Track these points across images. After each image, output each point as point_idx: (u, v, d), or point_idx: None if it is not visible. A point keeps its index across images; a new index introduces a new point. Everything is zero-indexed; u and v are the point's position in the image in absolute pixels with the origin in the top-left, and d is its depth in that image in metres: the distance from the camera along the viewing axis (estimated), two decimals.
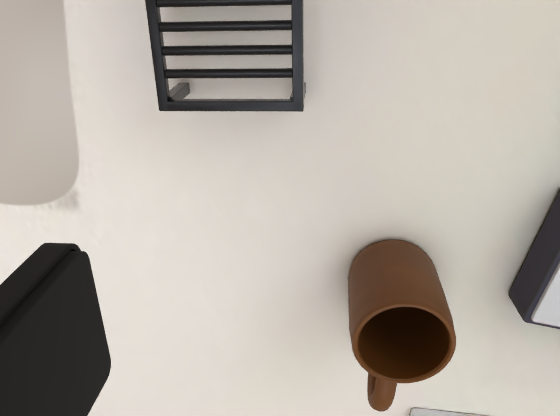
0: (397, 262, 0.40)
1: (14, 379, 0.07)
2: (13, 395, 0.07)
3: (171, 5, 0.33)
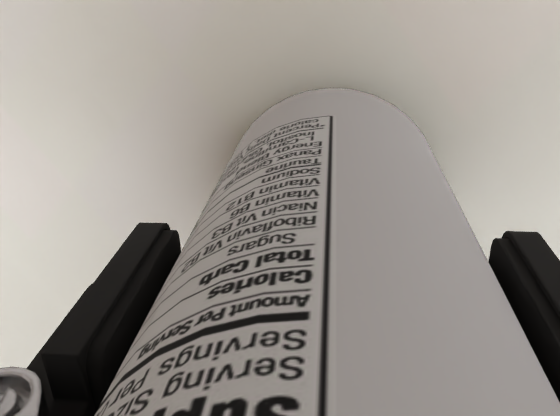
0: None
1: None
2: None
3: None
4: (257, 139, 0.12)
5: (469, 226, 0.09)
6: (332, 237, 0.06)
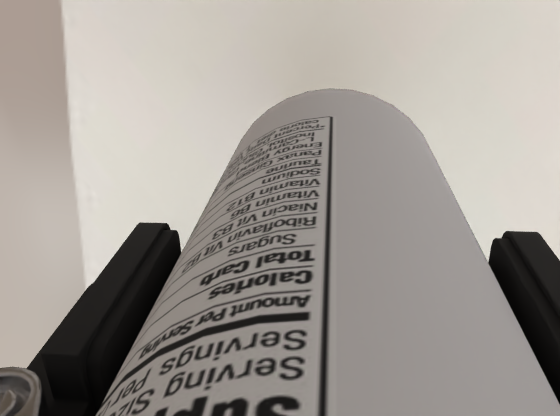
0: None
1: None
2: None
3: None
4: (257, 140, 0.12)
5: (469, 227, 0.09)
6: (333, 238, 0.06)
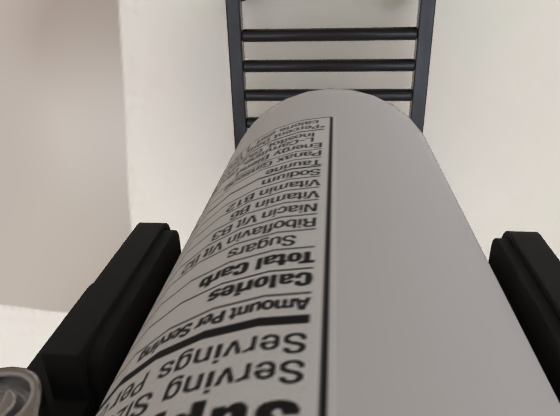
0: None
1: None
2: None
3: None
4: (257, 140, 0.11)
5: (469, 227, 0.09)
6: (332, 240, 0.06)
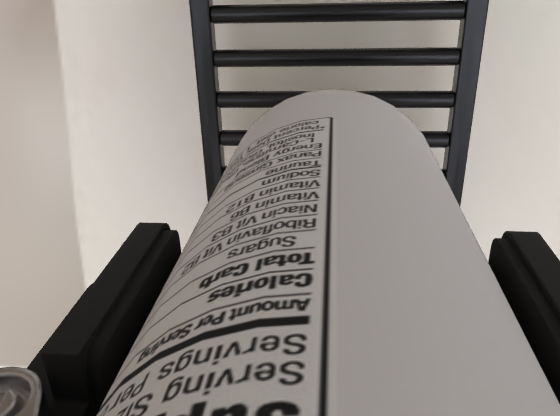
0: None
1: None
2: None
3: None
4: (257, 140, 0.11)
5: (469, 228, 0.09)
6: (332, 240, 0.06)
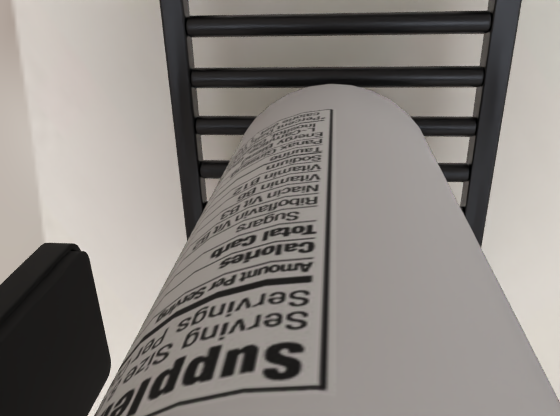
0: None
1: (14, 379, 0.07)
2: (13, 395, 0.07)
3: None
4: (261, 131, 0.12)
5: (461, 211, 0.10)
6: (333, 215, 0.07)
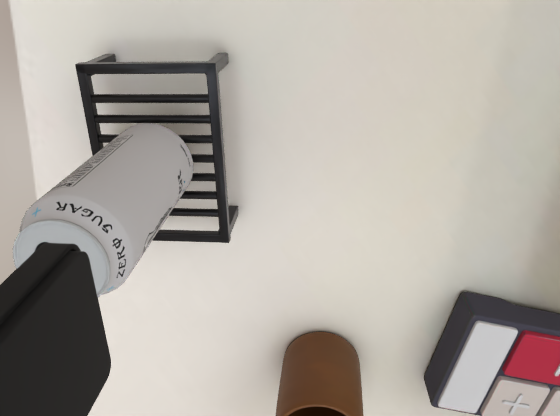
0: (318, 358, 0.46)
1: (14, 379, 0.07)
2: (13, 395, 0.07)
3: None
4: None
5: (158, 167, 0.32)
6: (99, 164, 0.29)
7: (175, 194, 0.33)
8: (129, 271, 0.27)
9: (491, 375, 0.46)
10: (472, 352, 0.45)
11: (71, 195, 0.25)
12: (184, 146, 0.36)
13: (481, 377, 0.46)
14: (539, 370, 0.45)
